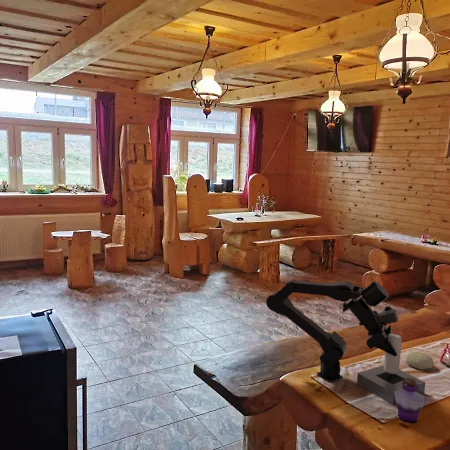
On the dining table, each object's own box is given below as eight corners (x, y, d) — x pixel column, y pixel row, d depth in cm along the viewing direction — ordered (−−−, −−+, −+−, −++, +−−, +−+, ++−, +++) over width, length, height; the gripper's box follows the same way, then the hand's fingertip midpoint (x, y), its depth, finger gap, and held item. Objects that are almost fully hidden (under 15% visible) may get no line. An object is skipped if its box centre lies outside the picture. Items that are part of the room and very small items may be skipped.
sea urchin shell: (407, 352, 173) (424, 342, 169) (421, 370, 170) (438, 360, 166) (400, 360, 165) (418, 350, 161) (415, 379, 163) (433, 369, 159)
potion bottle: (397, 406, 137) (400, 370, 136) (427, 417, 132) (430, 379, 130) (387, 418, 131) (390, 380, 129) (418, 430, 125) (421, 390, 124)
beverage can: (401, 372, 146) (404, 337, 144) (393, 375, 143) (396, 340, 142) (388, 366, 150) (391, 332, 148) (380, 370, 147) (383, 335, 145)
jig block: (356, 384, 151) (357, 372, 151) (387, 374, 158) (388, 363, 158) (392, 405, 138) (393, 393, 138) (424, 393, 146) (425, 382, 145)
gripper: (380, 308, 137) (415, 350, 134) (387, 293, 153) (419, 329, 150) (352, 328, 141) (386, 369, 138) (361, 311, 158) (392, 347, 155)
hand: (397, 352), depth 145 cm, fingers closed on beverage can, 5 cm apart
